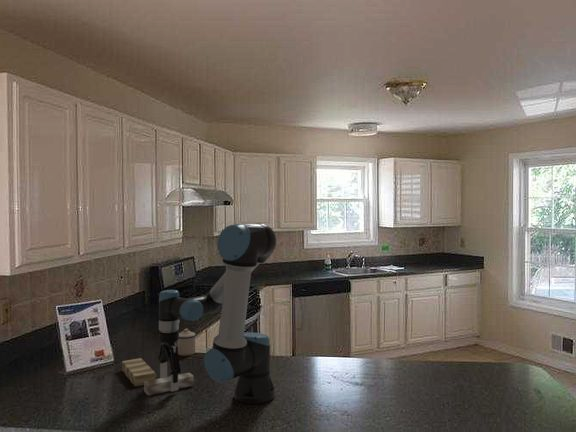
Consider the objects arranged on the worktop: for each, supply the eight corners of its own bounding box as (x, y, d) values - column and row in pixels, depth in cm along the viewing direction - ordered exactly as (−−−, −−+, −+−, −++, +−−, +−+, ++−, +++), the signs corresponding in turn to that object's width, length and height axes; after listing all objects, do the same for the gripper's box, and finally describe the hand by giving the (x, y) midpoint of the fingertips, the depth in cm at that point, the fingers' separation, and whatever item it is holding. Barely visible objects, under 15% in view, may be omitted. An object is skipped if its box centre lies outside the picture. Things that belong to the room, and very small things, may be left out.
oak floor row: (157, 382, 186) (157, 372, 186) (134, 386, 181) (134, 376, 181) (142, 366, 205) (142, 357, 205) (122, 370, 200) (122, 361, 200)
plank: (189, 382, 186) (189, 372, 186) (193, 386, 182) (193, 376, 182) (144, 391, 177) (144, 381, 177) (147, 396, 172) (147, 385, 172)
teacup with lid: (199, 351, 227) (199, 327, 227) (188, 356, 218) (188, 332, 218) (179, 348, 231) (179, 325, 231) (167, 354, 223) (167, 329, 223)
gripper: (189, 336, 171) (189, 393, 171) (168, 322, 192) (168, 372, 192) (169, 339, 167) (169, 398, 167) (150, 324, 188) (150, 376, 188)
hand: (168, 384), depth 180 cm, fingers open, 13 cm apart
